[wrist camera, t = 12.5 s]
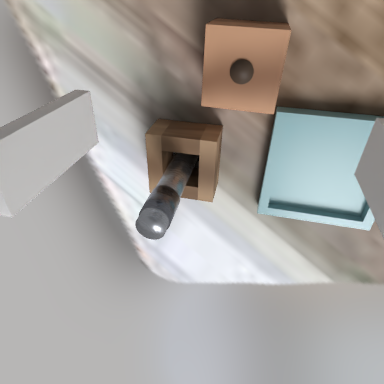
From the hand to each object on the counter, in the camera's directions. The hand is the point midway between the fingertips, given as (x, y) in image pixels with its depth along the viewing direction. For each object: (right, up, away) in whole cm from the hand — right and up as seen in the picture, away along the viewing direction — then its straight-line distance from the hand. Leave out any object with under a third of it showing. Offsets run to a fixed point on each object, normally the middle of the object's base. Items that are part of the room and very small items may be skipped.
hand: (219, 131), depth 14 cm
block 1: (-2, +2, +19) cm, 19 cm away
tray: (+13, -1, +17) cm, 21 cm away
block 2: (+4, +9, +12) cm, 16 cm away
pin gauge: (-2, +2, +19) cm, 19 cm away
